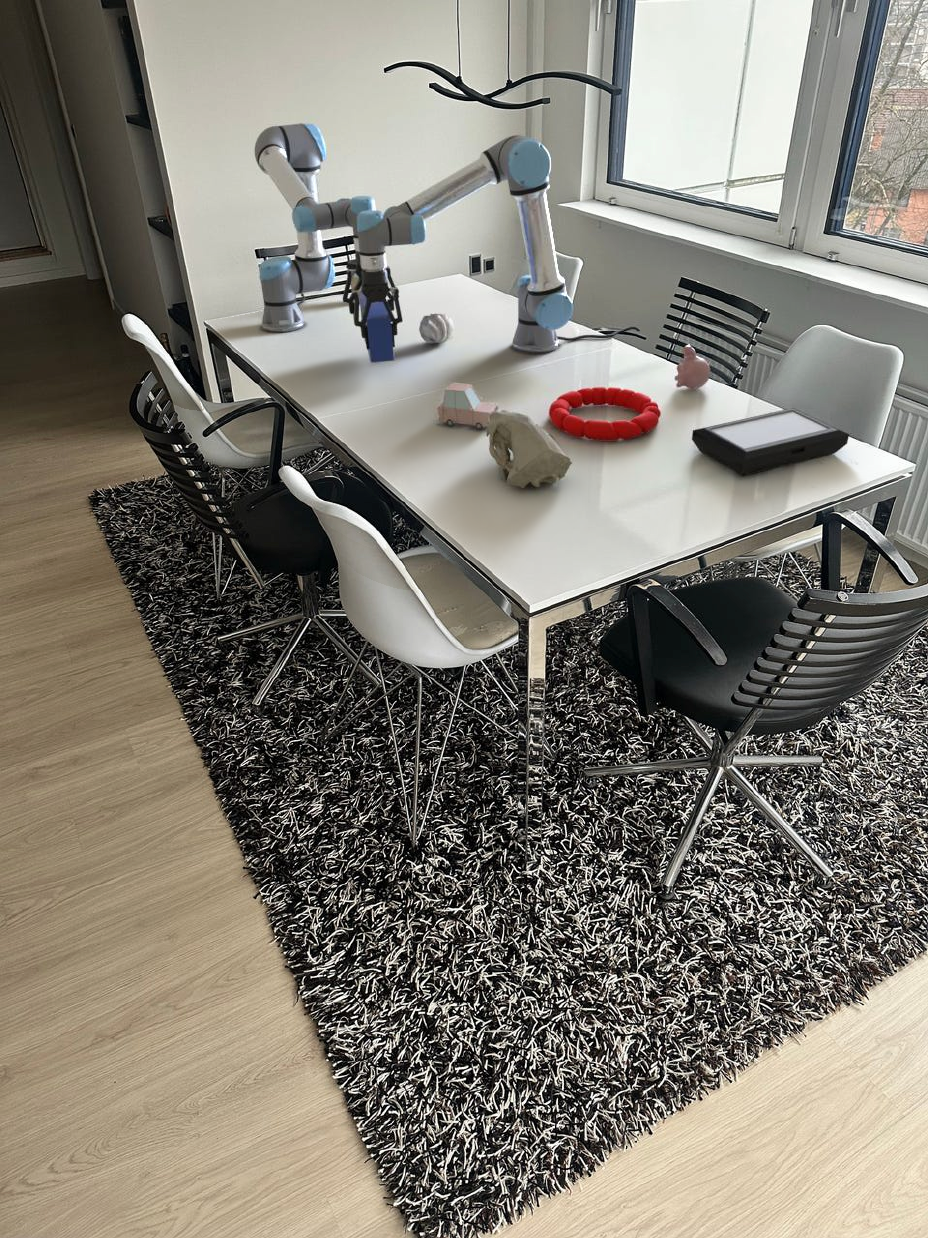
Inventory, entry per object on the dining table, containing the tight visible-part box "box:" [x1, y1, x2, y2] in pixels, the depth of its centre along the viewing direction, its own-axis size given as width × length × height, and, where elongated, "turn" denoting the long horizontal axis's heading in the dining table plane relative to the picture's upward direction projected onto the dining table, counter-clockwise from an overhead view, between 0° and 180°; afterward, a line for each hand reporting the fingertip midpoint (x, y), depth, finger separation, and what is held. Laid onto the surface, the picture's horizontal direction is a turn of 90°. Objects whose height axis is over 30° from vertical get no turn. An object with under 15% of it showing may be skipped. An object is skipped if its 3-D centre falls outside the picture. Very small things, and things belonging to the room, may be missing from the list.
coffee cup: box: [346, 258, 363, 305], centre depth 347 cm, size 10×10×15 cm
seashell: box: [418, 312, 454, 344], centre depth 302 cm, size 10×15×10 cm
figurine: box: [674, 344, 711, 390], centre depth 259 cm, size 9×11×12 cm
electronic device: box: [691, 407, 850, 477], centre depth 222 cm, size 32×6×20 cm
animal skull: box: [485, 409, 573, 489], centre depth 216 cm, size 17×25×20 cm
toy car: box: [437, 382, 499, 431], centre depth 243 cm, size 9×15×10 cm, turn 70°
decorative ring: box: [548, 386, 661, 442], centre depth 242 cm, size 7×30×30 cm
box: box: [359, 294, 395, 363], centre depth 281 cm, size 30×7×13 cm, turn 10°
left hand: (373, 322), depth 291 cm, fingers open, 11 cm apart
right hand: (380, 346), depth 273 cm, fingers closed on box, 7 cm apart
